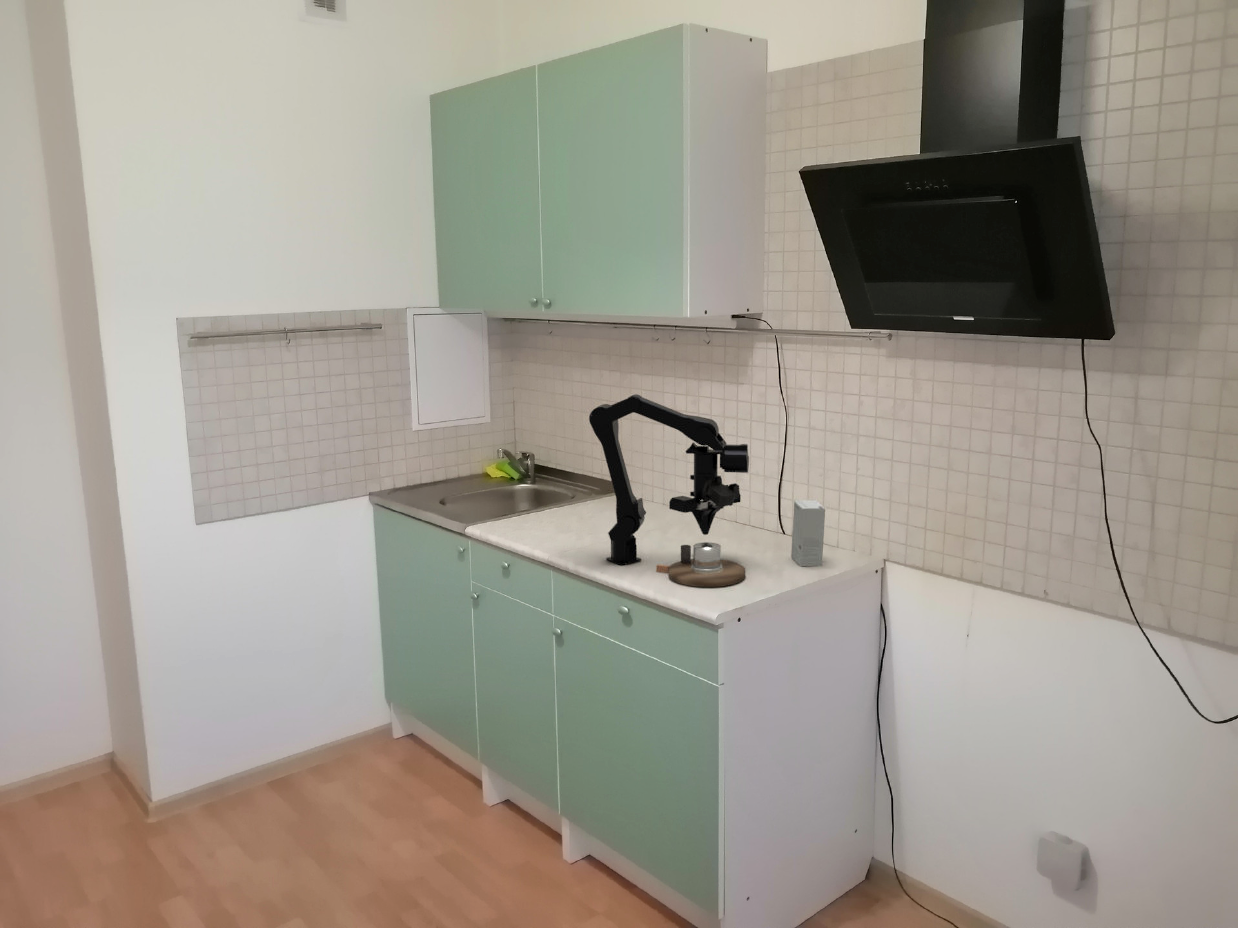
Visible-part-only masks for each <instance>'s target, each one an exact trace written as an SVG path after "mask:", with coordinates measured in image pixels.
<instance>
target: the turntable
mask: <svg viewBox="0 0 1238 928" xmlns="http://www.w3.org/2000/svg"><path fill="white" fill-rule="evenodd" d="M691 546H692V545H690V544H681V545H680V561H676V562H674V563H672V564H671V565H669V566H670V567H669V573H668V578H670V580H671V581H674V582H676V583H678V584H680V585H681V584H682V585H685V586H692V587H703V588H704V587H705V588H706V587H707V588H713V587H725V586H731V585H736V584H737V583H740V582H742V581H744V580H745V578H746V567H745V566H744V565H743V564H741V563H738V562H735V561H731V560H728V559H723V558H722V559H721V564H722V570H721V571H719V572H715V573H700V572H696V571H693V570H692V564H693V558H691V557H692V550H691V549H692V547H691Z"/></svg>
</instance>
